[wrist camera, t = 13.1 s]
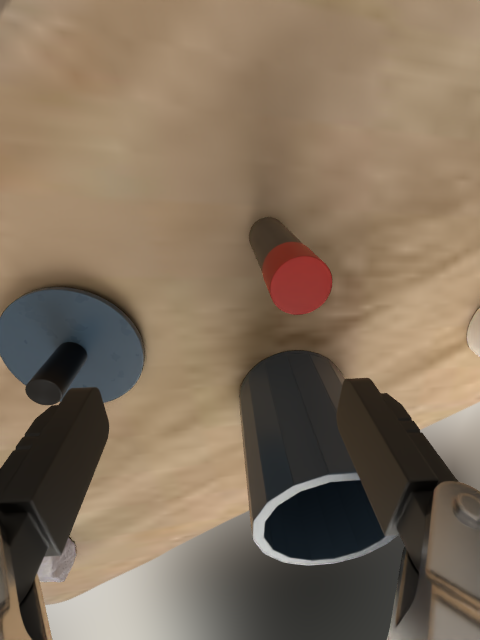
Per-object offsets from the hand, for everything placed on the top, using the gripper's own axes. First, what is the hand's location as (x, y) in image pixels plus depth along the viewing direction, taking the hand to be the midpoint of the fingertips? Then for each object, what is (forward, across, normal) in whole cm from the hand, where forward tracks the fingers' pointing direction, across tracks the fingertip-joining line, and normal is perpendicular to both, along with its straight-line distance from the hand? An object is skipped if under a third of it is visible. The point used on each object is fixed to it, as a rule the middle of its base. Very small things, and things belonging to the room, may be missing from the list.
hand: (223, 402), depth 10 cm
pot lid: (+15, +13, +7) cm, 21 cm away
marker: (+15, -4, -2) cm, 16 cm away
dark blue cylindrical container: (+15, -7, +14) cm, 22 cm away
